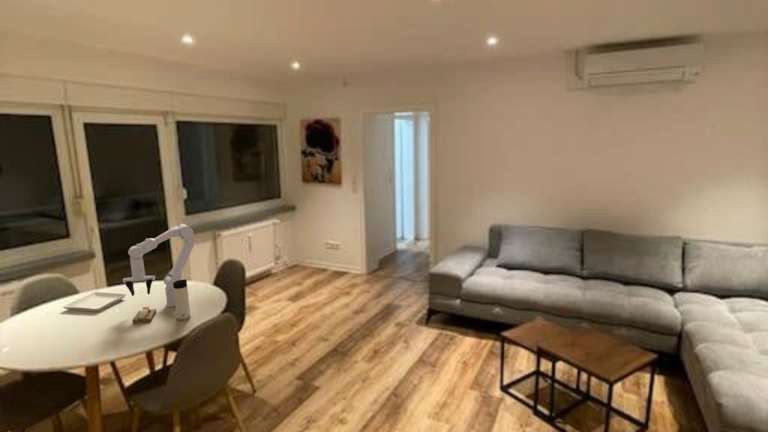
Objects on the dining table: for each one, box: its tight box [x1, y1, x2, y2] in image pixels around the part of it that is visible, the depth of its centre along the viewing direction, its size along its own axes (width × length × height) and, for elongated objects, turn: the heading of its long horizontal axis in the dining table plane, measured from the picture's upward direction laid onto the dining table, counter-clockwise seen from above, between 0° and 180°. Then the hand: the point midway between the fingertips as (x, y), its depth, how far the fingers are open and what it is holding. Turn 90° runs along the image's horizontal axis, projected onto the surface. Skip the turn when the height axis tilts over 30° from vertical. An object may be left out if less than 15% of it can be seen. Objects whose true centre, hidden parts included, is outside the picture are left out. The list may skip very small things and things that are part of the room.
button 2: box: [141, 306, 151, 314], centre depth 219 cm, size 3×3×3 cm
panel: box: [132, 308, 157, 325], centre depth 216 cm, size 8×12×2 cm, turn 16°
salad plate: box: [62, 291, 127, 312], centre depth 234 cm, size 21×21×3 cm
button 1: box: [139, 312, 147, 319], centre depth 212 cm, size 3×3×3 cm
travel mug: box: [173, 278, 191, 322], centre depth 214 cm, size 6×7×20 cm
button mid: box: [140, 309, 148, 318], centre depth 216 cm, size 3×3×3 cm
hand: (141, 294), depth 223 cm, fingers open, 7 cm apart
